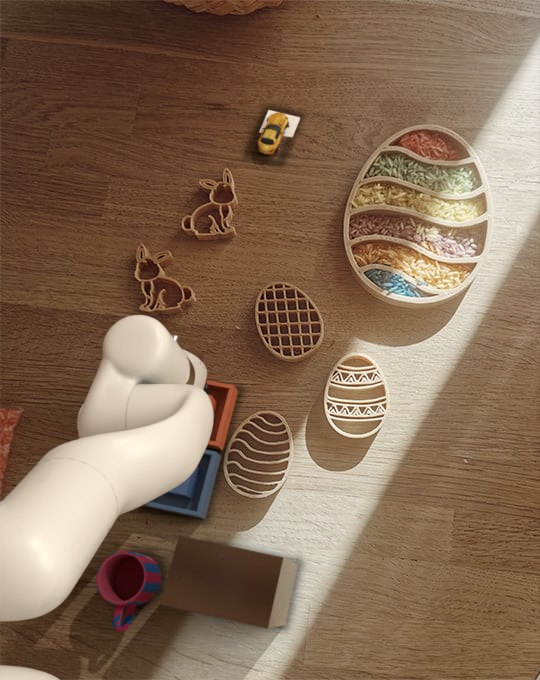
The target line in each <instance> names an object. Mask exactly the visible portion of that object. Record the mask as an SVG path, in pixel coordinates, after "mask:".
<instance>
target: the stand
mask: <svg viewBox="0 0 540 680" xmlns="http://www.w3.org/2000/svg"><path fill="white" fill-rule="evenodd" d="M298 566H299V565H298V564H297V563H295V562H293V561H291V560H289V559H287V558H286V557H283V556H278V555H274V554H269V553H264V552H259V551H255V550H250V549H245V548H240V547H236V546H231V545H226V544H223V543H218V542H212V541H209V540H203V539H198V538H194V537H189V536H184V535H178V537H177V541H176V545H175V549H174V553H173V556H172V560H171V564H170V567H169V571H168V575H167V579H166V582H165V586H164V590H163V594H162V597H161V601H160V605H161V606H165V607H169V608H173V609H178V610H183V611H187V612H193V613H195V614H201V615H205V616H209V617H214V618H218V619H222V620H226V621H231V622H237V623H240V624H245V625H248V626H249V625H250V626H254V627H258V628H259V627H260V628H262V629H267V630H268V629H273V628H278V627H279V628H280V627H284V626H286V622H287V618H288V613H289V609H290V604H291V599H292V596H293V590H294V587H295V586H294V585H295V580H296V576H297V572H298V568H299V567H298Z"/></svg>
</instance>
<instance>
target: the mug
mask: <svg viewBox="0 0 540 680" xmlns="http://www.w3.org/2000/svg"><path fill="white" fill-rule="evenodd" d="M95 583H96V588H97V592H98V593H99V595H100V596H101V598H102V599H103V600H104V601H105V602H107V603H108V604H111V605H114V606H115V609H114V613H113V616H112V617H113V618H112V627H113V629H114V631H115V632H117V633H125V632H126V631H128V630H129V628H130V627H131V624H132V621H133V617H134V614H135V611H136V606H139V605H143V604H145V603H147V602H149V601H150V600H152V599H153V598H154V597H155V596H156V594H157V593H158V591H159V589H160V587H161V583H162V572H161V567H160V566H159V564H158V562H156V560H154V559H153V558H152V557H150V555H149V556H148V555H146V554H142V553H138V552H133V551H127V550H121V551H117V552H116V551H115V552H113V553H112V554H110V555H109V556H108V557H106V558H105V559H104V560H103V562H102V563H101V564H100V566H99V568H98V570H97V574H96V581H95ZM125 608H126V610H125ZM124 610H125V615H124V619H123V622H122V617H123V613H124Z"/></svg>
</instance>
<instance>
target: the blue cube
mask: <svg viewBox="0 0 540 680" xmlns="http://www.w3.org/2000/svg"><path fill="white" fill-rule="evenodd" d="M200 471H201V469H199V468H198V467H196V469H195V471H194V472H193V473H192V474H191V476H190V477H188V478H187V479H186V480H185V481H184V482H183V483H181V484H180V485H179V486H177V487H175V488H174V489H172V490H170V491H168V492H167V493H165V494H168V495H173V496H178V497H182V498H187V499H192V500H193V497H194V493H195V489H196V486H197V482H198V478H199V475H200Z"/></svg>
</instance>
